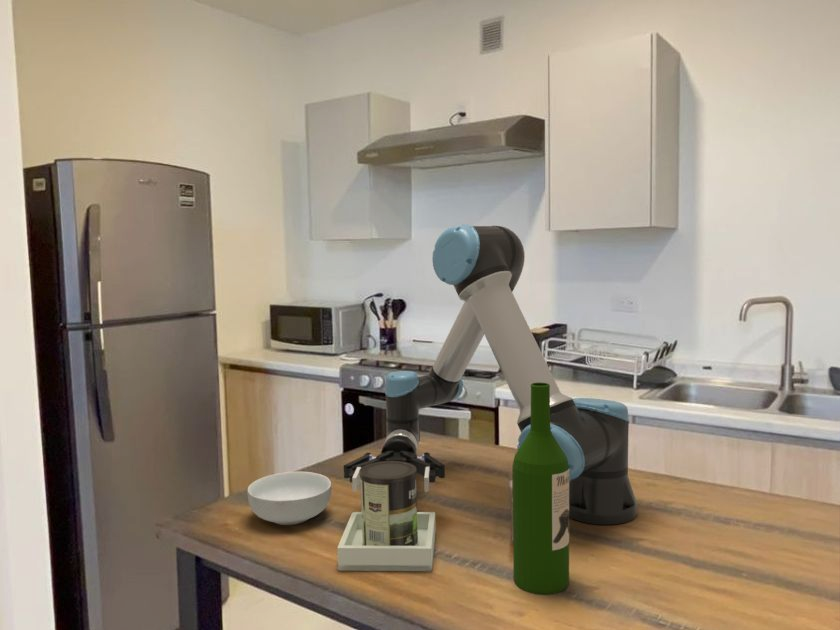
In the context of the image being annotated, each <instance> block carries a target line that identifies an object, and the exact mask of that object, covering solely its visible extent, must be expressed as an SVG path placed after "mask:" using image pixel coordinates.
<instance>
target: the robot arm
mask: <svg viewBox="0 0 840 630" xmlns="http://www.w3.org/2000/svg"><path fill="white" fill-rule="evenodd" d="M431 261H432V268H433V270H434V273H435V275H436V277H438V279H439V280H440V282H444V283H445V284H447V285H449V286H450V285H451V286H453V287H454V290H455V291H456V294H457V297H458V299H459V300H461V301H463V304H462V306H461V308H460V310H459V313H458V315H457V316H456V318H455V320H454V322H453V324H452V327H451V329H449V333H448V334H447V336H446V339H445V341H444V343H443V344H442V346H441V348H440V351H439V352H438V355H436V359H435V361H434V363H432V364H433V365H432V367H431V368H430V370H429V372H428V374H426V375H421V376H418V373H416V372H414V371H410V370H400V371H393V372H390V373H388V374H387V375H386V377H385V389H384V393H385V409H386V411H385V412H386V438H385V440H384V444H383V445H382V446H383V447H382V449H381V451H380V453H379V454H378V455H377V456H373V455H372V453H371V452H366V453H365V454H363V455H362V456H360V457H358V458H356V459H354V460H353V461H350V462H348V463H345V464H344V465H343V479H349V483H351V484H352V492H353V493H357V492H358V490H359V487H360V486H361V484H360V475H359V470H360V469H361V468H362V467H363V466H365V465H368V464H371V463H375V462H382V461H401V462H406V463H410V464H412V465H414V466H415V467H416V469H417V473H416V475H421V476H422V477H423V481H424V484H423V485H424V493H425V492H426V493H429V490H430V483H435V482H436V478H437V477H438V478H440V479H445V478H446V471H445V470H446V469H445V468H446V467H445V466H446V465H445V464H444V463H442V462H440V461H439V460H438V459H436V458H435V457H433V456H431V453H430V452H428V451H427V452H424V453H423V454H422V455H421V456H418V455H417V454H418V447H419V444H420V441H421V431H420V426H419V421H420V418H419V416H420V415H419V414H420V412H419V410H422V409H425V408H429V407H433V406H437V405H442V404H447V403H449V402H452V401H453V400H456V399H458V398H459V397H460V396H461V395H462V393H463V391H464V389H463V386H464V382H463V379H462V377H463V376H464V373H465V371H466V370H467V367H468V365H469V364H470V362H471V360H472V358H473V356H474V354H475V352H476V351H477V349H478V347H479V345H480V343H481V341H482V340H483V337H485V339H486V341H487V343H488V345H489V347H490V349H491V352H492V354H493V355H494V358H495V360H496V362H497V365H498V367H499V369H500V371H501V373H502V376H503V377H504V379H505V382H506V384H507V386H508V389H509V391H510V393H511V395H512V397H513V399H514V401H515V403H516V406H517V407H518V410H519V414H518V418H517V420H516V424H517V426H518V428H519V430H520V434H519V436H518V439H517V442H518V445H516V446H517V447H516V448H517V451H518V449H519V448H520V446H521V445H522V443H523V442H524V440H525V438H526V437H527V435H528V434H529V432H530V429H531V384H532V383H548V384H549V385H550V429H551V432H552V434H553V436H554V438H555V439H556V441H557V442H558V444H559V445H560V447H561V449H562V450H563V452H564V453H565V455H566V456H567V460H568V465H569V519H572V520H574V521H579V522H582V523H585V524H586V523H587V524H593V525H601V526H602V525H618V524H619V525H620V524H624V523H628V522H630V521H632V520H634V519H635V518H636V516H637V515H638V505H637V499H636V497H635V493H634V490H633V487H632V484H631V481H630V478H629V427H630V426H629V424H630V420H629V409H628V407H627V405H625V404H624V403H622V402H619V401H614V400H610V399H609V400H608V399H602V398H592V397H591V398H589V397H576V398H573V397H570V396H568V395H566V394H563V393H562V392H561V390H560V388H559V386H558V384H557V382H556V380H555V377H554V375H553V373H552V372H551V370H550V368H549V366H548V363H547V361H546V359H545V357H544V355H543V353H542V351H541V349H540V347H539V345H538V342H537V341H536V339H535V337H534V334H533V333H532V332H533V331H531V329H530V326H529V325H528V322H527V320H526V318H525V316H524V314H523V312H522V310H521V308H520V306H519V304H518V302H517V299H516V298H515V296H514V295H515V294H514V293H513V291H514V290H515V287H516V286H517V284H518V282H519V280H520V279H521V278H520V277H521V275H522V272H523V270H524V265H525V250H524V246H523V243H522V241H521V239H520V237H519V236H518V235H517V234H516V233H515V232H514V231H513V230H511V229H510V228H507V227H505V226H501V225H470V224H462V225H453V226H451V227H448V228H447V229H445V230H444V231H443V232H441V234H440V235H439V237H438V238H437V239H436V241H435V243H434V250H433V251H432V260H431Z"/></svg>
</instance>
